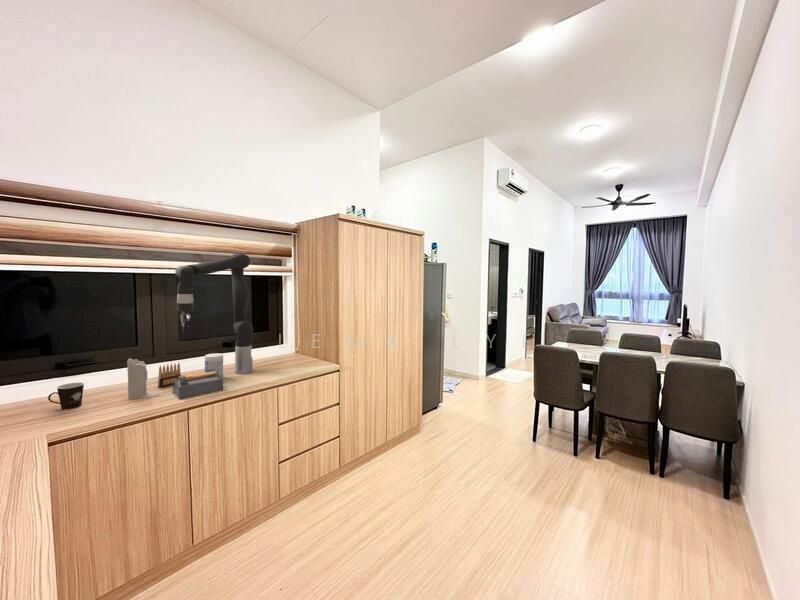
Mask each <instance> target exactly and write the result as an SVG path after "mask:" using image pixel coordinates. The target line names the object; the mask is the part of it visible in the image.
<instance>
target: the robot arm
mask: <svg viewBox="0 0 800 600" xmlns="http://www.w3.org/2000/svg"><path fill="white" fill-rule="evenodd" d="M250 263H251V258H250V257H249V255H247V254H245V253H234V254H232V255H231V256H230V257H229V258H225V259H224V258H223V259H217V260H216V259H215V260H210V261H208V260H207V261H204V262H198V263H196V264H195V263H193V264H186V265H180V266H178V267H177V268H176V269H175V272H174V273H175V276H177V277H178V278H179V283H178V284H177V296H176V304H177V305H176V307H177V308H176V309H177V311H178V312H181V314H180V316H179V317H180V322H181V326H182V333H183V334H184V335H185V334H189V327H190V326H191V321H192V318H191V314H190V312H192V311H193V312H194V294H193V293H194V292H193V291H194V289H193V288H194V287H193V285H194V282H195V281H194V280H195V277H197V276H205V275H209V274H214V273H218V272H222V271H226V270H230V273H231V285H232V303H233V305H232V306H233V323H232V324H233V327H232V328H233V331H234V332H235V334H237V340H236V341H235V343H234V346H235V347H234V349H235V350H234V352H235V353H234V354H235V355H234V359H235V360H234V362H235V363H234V365H235V372H234V374H237V375H246V374H249V373H252V372H254V371H253V366H254V365H253V357H252V342H253V340H254V338H253V336H254V327H253V324H252V322H250V321H248V320H247V309H248V306H249V302H250V292H249V291H250V290H249V287H248V283H247V281H246V279H245V275H244V274H245V273H244V272H245V271H244V270H245V269H246V268H247V267H249V265H250Z"/></svg>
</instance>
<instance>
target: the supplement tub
mask: <svg viewBox="0 0 800 600" xmlns="http://www.w3.org/2000/svg"><path fill="white" fill-rule="evenodd" d="M212 370H215V372H216V373H217V372H218V373H219V377H221V378H222V379H224V354H223V353H221V352H220V353H218V352H217V353H216V352H215V353H208V354H205V356H204V373H207V372H211V371H212Z"/></svg>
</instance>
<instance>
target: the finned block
mask: <svg viewBox="0 0 800 600" xmlns="http://www.w3.org/2000/svg"><path fill="white" fill-rule="evenodd" d="M213 371H215V370H212V371H211V372H213ZM221 391H224V378H221V377H219V373H218V372H217V373H215V375H209V376H203V377H198V378H192V379H185V377H184V375H181V376H178V380H174V381H173V385H172V392H173V394H174V395H175V396H176V397H177V399H178V400H183V399H189V398H192V397H197V396H202V395H207V394H212V393H218V392H221Z"/></svg>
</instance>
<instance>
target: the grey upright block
mask: <svg viewBox="0 0 800 600" xmlns="http://www.w3.org/2000/svg"><path fill="white" fill-rule="evenodd" d="M126 364H127V394H128V395H127V397H128V400H139V399H145V398H146V399H148V398H153V397H157V396H162V395H163V392H147V386H148V385H147V380H148V369H147V364H146V363H145V361H143V360H141V361H140V360H138V359H137V358H136V359H133V358H128V359H127V362H126Z"/></svg>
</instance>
